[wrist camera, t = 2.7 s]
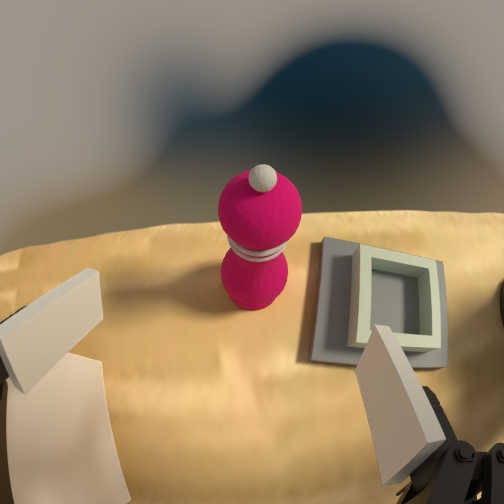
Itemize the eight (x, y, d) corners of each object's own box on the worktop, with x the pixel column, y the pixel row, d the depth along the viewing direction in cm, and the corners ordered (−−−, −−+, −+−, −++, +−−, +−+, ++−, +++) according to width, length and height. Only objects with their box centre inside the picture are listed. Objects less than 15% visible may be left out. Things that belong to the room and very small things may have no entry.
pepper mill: (294, 286, 34) (344, 174, 16) (252, 326, 31) (264, 242, 14) (253, 249, 36) (262, 120, 18) (211, 285, 34) (179, 168, 16)
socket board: (437, 265, 36) (453, 252, 32) (441, 368, 28) (461, 363, 24) (321, 242, 37) (330, 224, 33) (308, 360, 30) (318, 356, 26)
